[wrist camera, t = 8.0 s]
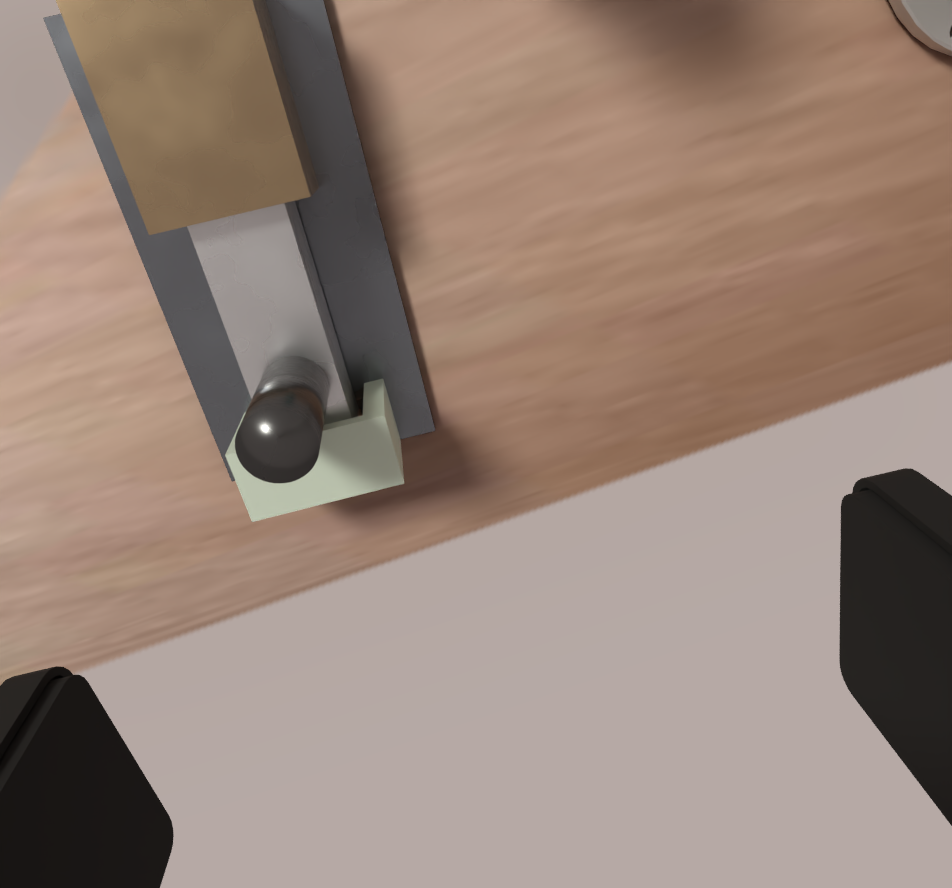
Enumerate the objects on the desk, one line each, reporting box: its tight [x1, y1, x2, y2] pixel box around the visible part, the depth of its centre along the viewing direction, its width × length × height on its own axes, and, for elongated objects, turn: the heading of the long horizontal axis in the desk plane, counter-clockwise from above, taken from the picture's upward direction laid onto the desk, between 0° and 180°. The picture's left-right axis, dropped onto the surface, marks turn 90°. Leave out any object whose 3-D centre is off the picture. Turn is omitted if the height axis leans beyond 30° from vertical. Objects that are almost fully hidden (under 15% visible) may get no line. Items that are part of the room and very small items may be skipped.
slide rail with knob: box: [43, 0, 435, 481], centre depth 31 cm, size 11×22×6 cm, turn 12°
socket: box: [225, 379, 404, 522], centre depth 35 cm, size 7×4×5 cm, turn 102°
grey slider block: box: [187, 201, 362, 484], centre depth 30 cm, size 4×14×10 cm, turn 12°
